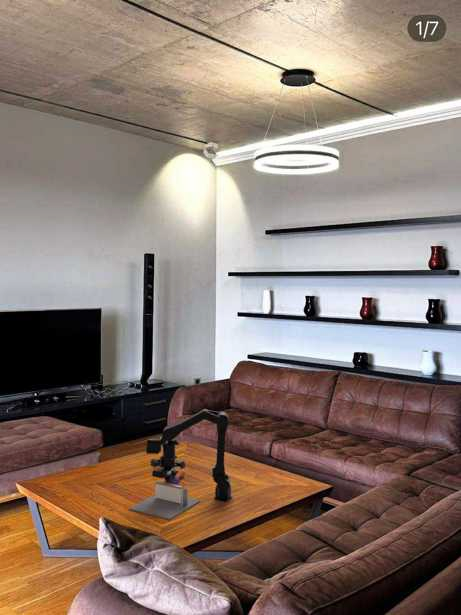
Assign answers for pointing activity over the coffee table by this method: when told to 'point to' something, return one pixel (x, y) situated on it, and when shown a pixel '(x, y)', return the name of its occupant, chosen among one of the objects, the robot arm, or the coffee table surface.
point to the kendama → (179, 475)
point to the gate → (169, 492)
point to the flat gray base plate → (164, 506)
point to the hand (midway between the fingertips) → (168, 487)
